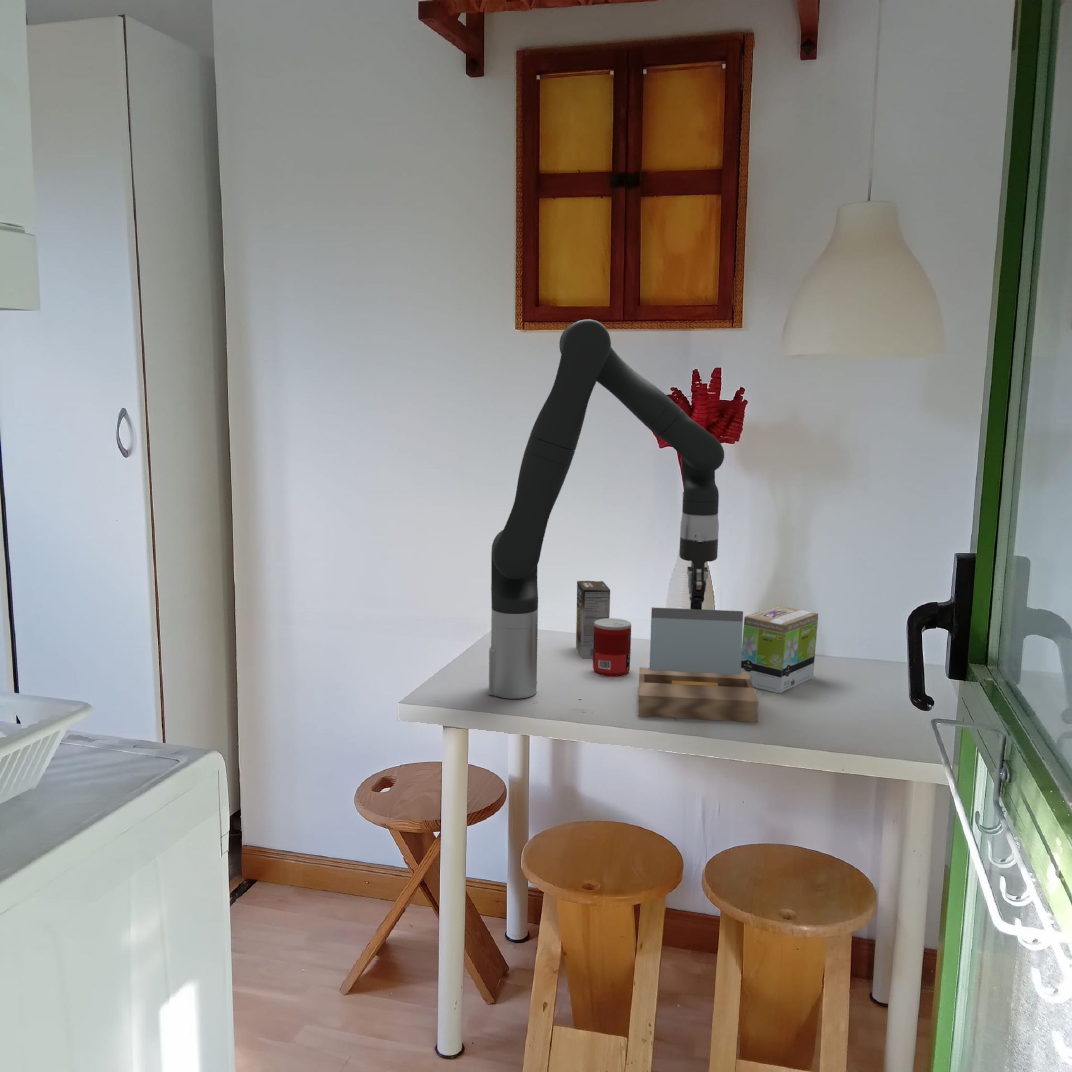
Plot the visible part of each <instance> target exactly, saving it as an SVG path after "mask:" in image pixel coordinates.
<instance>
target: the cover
mask: <svg viewBox="0 0 1072 1072" xmlns="http://www.w3.org/2000/svg"><path fill="white" fill-rule="evenodd" d="M650 615H651V617H650V644H649V645H650V646H649V648H650V649H649V668H650V669H649V670H652V671H673V672H694V673H715V674H736V675H741V654H742V642H743V629H744V611H743V610H726V609H725V610H723V609H722V610H721V609H703V608H702V609H690V608H675V607H673V608H672V607H655V606H654V607H651V614H650Z"/></svg>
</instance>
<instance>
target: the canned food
mask: <svg viewBox="0 0 1072 1072" xmlns="http://www.w3.org/2000/svg"><path fill="white" fill-rule="evenodd" d="M631 643H632V622H631V621H629V620H626V619H622V618H611V617H609V618H606V619H599V620H596V621H595V622H594V640H593V658H592V670H593V672H594V673H595V674H597V675H598V676H604V677H609V678H610V677H611V678H612V677H614V678H615V677H616V678H618V677H624V676H627V675H628V674H629V672H630V668H631V645H632V644H631Z"/></svg>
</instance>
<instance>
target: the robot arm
mask: <svg viewBox="0 0 1072 1072" xmlns="http://www.w3.org/2000/svg"><path fill="white" fill-rule="evenodd" d="M558 344H559V352H560V358H559V359H560V360H559V363H558V368H557V371H556V372H557V373H556V375H555V379H554V382H553V385H552V388H551V390H550V392H549V394H548V396H547V398H546V400H545V402H544V403H543V406H542V407H541V409H540V411H539V412H538V415H537V418H536V419H535V422H534V424H533V426H532V429H531V431H530V434H529V437H528V440H527V443H526V447H525V450H524V452H523V455H522V459H521V464H520V468H519V473H518V479H517V483H516V485H517V486H516V491H515V497H514V501H513V505H512V508H511V510H510V513H509V515H508V519H507V521H506V522H505V523H506V524H505V526H504V527H503V529H502V530H500V531H499V532H498V533H497V534H496V535H495V537H494V538H493V541H492V544H491V553H490V554H491V557H490V559H491V560H490V561H491V565H490V566H491V570H490V571H491V572H490V577H491V582H490V583H491V584H490V585H491V586H490V591H491V593H490V595H491V597H490V598H491V614H490V615H491V616H490V617H491V623H490V624H491V626H490V627H491V630H490V631H491V632H490V633H491V635H490V636H491V637H490V638H491V640H490V647H489V651H488V695H489V696H495V697H498V698H503V699H512V700H513V699H514V700H515V699H527V698H530V697H532V696H535V695H536V694H537V686H538V685H537V684H538V635H539V634H538V631H539V630H538V629H539V626H538V623H539V621H538V619H539V618H538V617H539V593H538V592H539V591H538V590H539V589H538V588H539V587H538V564H539V562H540V557H541V552H542V549H543V543H544V538H545V535H546V530H547V528H548V526H547V525H548V523H549V519H550V517H551V513H552V510H553V508H554V506H555V504H556V501H557V499H558V498H559V495H560V493H561V491H562V487H563V486H564V482H565V480H566V477H567V475H568V473H569V469H570V467H571V464H572V462H573V459H574V455H575V453H576V449H577V446H578V441H579V439H580V436H581V433H582V428H583V424H584V421H585V417H586V413H587V409H588V404H589V402H590V399H591V395H592V393H593V390H594V388H595V385H596V384H597V383H598V384H599V385H600V386H602V387H603V388H605V389H606V390H607V391H608V392H610V393H611V394H612V395H613V396H614V397H615V398H616V399H617V400H618V401H619V402H621V404H622V405H624V407H626V408H627V410H629V411H630V412H631V413H632V414H633V415H634V416H635V417H636V418H637V419H638V420H639V421H640V422H641V423H642V424H643V425H644V426H645V427H647V428H648V429H649V430H650V431H651V432H652V433H653V434H654V435H655V436H656V437H657V438H659V439H660V440H661V441H663V442H664V443H666V444H668V445H669V446H671V447H672V448H673V449H674V450H675V451H676V452H677V453H678V454H679V455H680V456H681V457H680V458H681V473H682V476H681V477H682V483H683V494H682V509H681V511H682V512H681V513H682V514H681V521H680V530H679V531H680V533H679V558H680V559H681V560H683V561H686V562H691V565H690V566H687V567H686V568H687V569H686V570H687V571H686V572H687V573H686V574H687V577H688V578H687V581H688V582H687V588H688V594H689V601H690V605H689V606H690V607H689V609H703V603H704V601H705V593H706V591H707V580H708V578H709V577H708V576H709V570H708V566H706V565H705V564H706V563H707V562H709V563H710V562H714V561H716V560H717V559H718V554H719V553H718V552H719V551H718V549H719V529H720V527H719V525H720V524H719V505H720V504H719V500H720V499H719V498H720V495H719V492H720V491H719V488H718V486H717V484H716V470H718V469H719V468H721V466H722V465H723V463H724V460H725V450H724V447H723V445H722V443H721V442H720V441H719V440H718V439H717V438H716V437H715V436H714V435H713V434H711V433H710V432H709V431H708V430H707V429H705V428H704V427H702V426H701V425H700V424H698V422H696V421H694V420H693V419H692V418H691V417H690V416H689V415H688V414H687V412H685V411H684V410H683V409H682V408H681V406H679V405H678V404H677V403H675V401H673V400H672V398H671V397H669V396H668V395H667V394H666V393H664V391H662V390H661V389H659V387H657V386H656V385H655V384H653V383H652V382H650V381H649V380H647V379H646V378H645V377H643V376H642V375H641V374H639V373H638V372H637V371H636V370H634V369H633V368H632V367H631V366H630V365H628V364H627V363H626V362H625V361H624V360H623V359H622V358H621V356H620V355H618V354H617V352H616V351H615V350H614V349H613V347H612V342H611V335H610V333H609V331H608V330H607V328H606V326H604V325H603V324H602V323H601V322H600V321H597V320H594V319H582V320H578V321H575V322H573V323H571V324H570V325H568V326H566V328H565V329H564V330H563V331H562V333H561V335H560V338H559V343H558Z"/></svg>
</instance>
